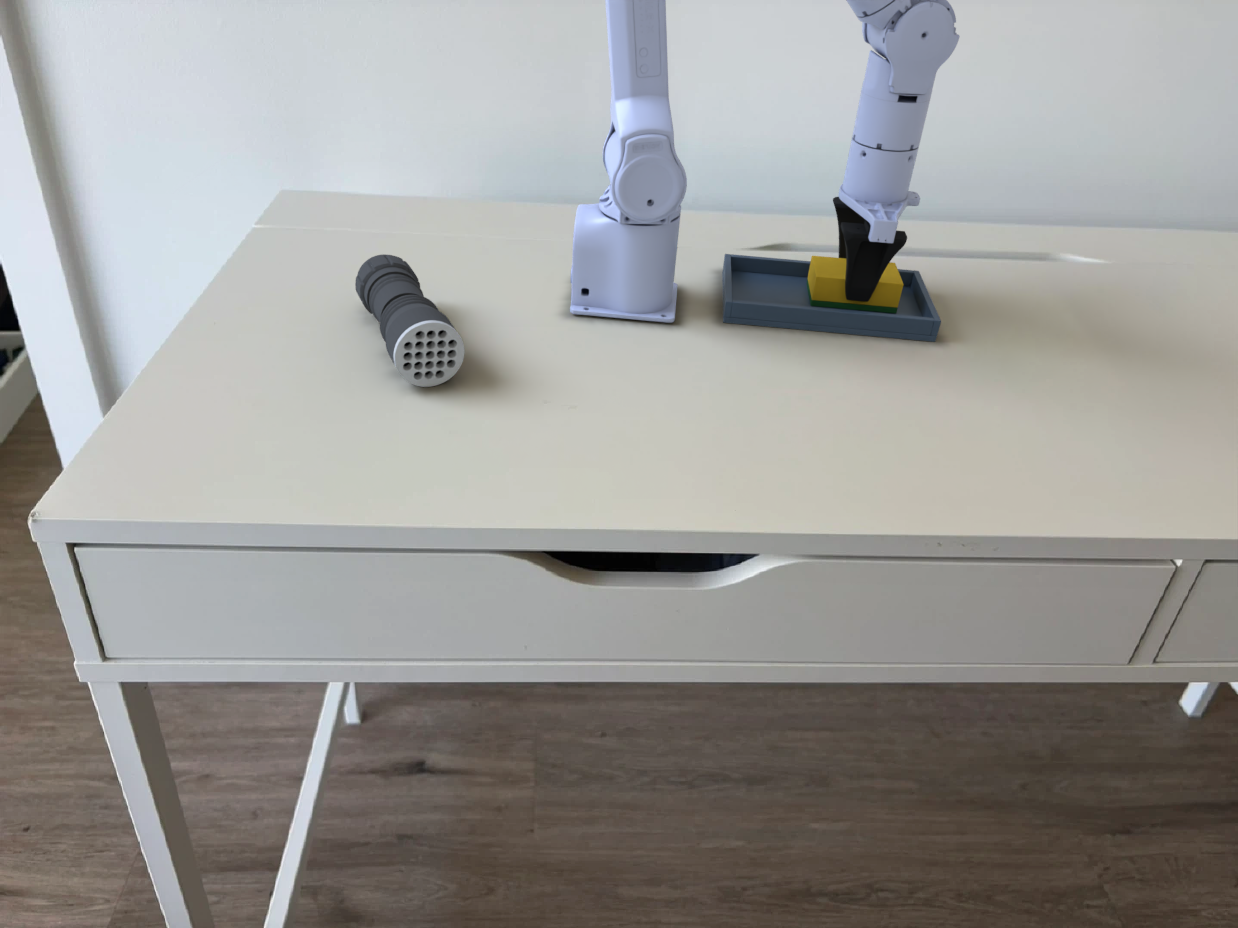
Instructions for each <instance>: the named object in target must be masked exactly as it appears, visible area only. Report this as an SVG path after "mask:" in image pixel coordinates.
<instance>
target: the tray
mask: <svg viewBox="0 0 1238 928" xmlns="http://www.w3.org/2000/svg"><path fill="white" fill-rule="evenodd" d="M810 262H811V260H801V259H800V260H799V259H791V258H790V259H788V258H776V257H767V256H757V255H756V256H754V255H743V254H734V253H733V254H731V253H725V254H724V258H723V264H722V265H723V266H722V274H721V277H722V323H724V324H735V325H745V326H757V327H766V328H767V327H768V328H777V329H788V330H789V329H790V330H799V331H811V332H822V333H833V334H843V335H844V334H845V335H854V336H856V335H857V336H867V337H877V338H887V339H888V338H889V339H899V340H908V341H909V340H910V341H920V342H934V343H936V341H937V338H938V335H939V330H940V328H941V324H942V320H941V318H940V315H939V313H938V310H937V307H936V305H935V304H934V301H933V299H932V297H931V295H930V292H929V290H928V288H927V286H926V283H925V281H924V279H923V277H922V275H921V272H920V271H919V270H914V269H901V268H897V269H898V271H899V274H900V276H901V279H902V282H903V284H904V285H903V289H902V293H901V297H900V301H899V305H898V307H897V308H898V309H897V313H885V312H874V311H863V310H851V309H840V308H829V307H818V306H811V305H810V299H809V294H808V289H807V279H808V273H809V268H810Z"/></svg>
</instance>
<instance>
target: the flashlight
mask: <svg viewBox="0 0 1238 928" xmlns="http://www.w3.org/2000/svg"><path fill="white" fill-rule="evenodd" d="M355 292H356V294H357V295H358V298H359V299H360V301H361V303H362V305H363V306H364V308H365V310H367V312H368V313H369V314H370V315H373V317H374V318H375V319H376V320H377V322H378V323H379V331H380V335H381V337H382V339H383V341H384V343H385V348H386V352H387V354H388V355H389V358H390V359H391V361H392V363H393V365H394V367H395V368H396V370H397V372H398V374H399V375H400V377H401V378H402V379H403V380H404V381H406V382H408V383H409V384H411V385H414V386H416V387H422V388H423V387H424V388H428V387H434V386H439V385H441V384H443V383H445V382H448V381H449V380H450V379H451V378H452V377H454V376H455V375H456V374H457V372H458V371H459V370H460V368H461V366H462V364H463V363H464V359H465V344H464V341H463V338H462V337H461V335H460V333H459V332H458V331H457V329H456V328H455V326H454V325H453V323H452V322H451V321H450V319H449V318H448V317H447V316H446V314H444V313H443V312H442V311H440V310H439V308H438V306H437V305H436V304H435V303H434V301H432V300H430V299H429V298H427V297H425V296H424V292H423V290H422V289H421V282H420V281H419V278H418V276H417V275H416V273H415V272H414V270H413V268H412V267H411V266H410V264H408V262H407V261H406V260H403V258H401V257H400V256H396V255H392V254H383V253H382V254H378V255H377V254H376V255H374V256H371V257H369V258H367V260H365V261H364V262H363V264H361V266H360V267H359V269H358V271H357V275H356V276H355Z"/></svg>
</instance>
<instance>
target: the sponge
mask: <svg viewBox="0 0 1238 928" xmlns="http://www.w3.org/2000/svg"><path fill="white" fill-rule="evenodd" d="M810 261H811V262H810V268H809V273H808V279H807V289H808V294H809V299H810V305H811V306H818V307H829V308H840V309H851V310H863V311H874V312H885V313H897V309H898V308H897V307H898V305H899V301H900V297H901V293H902V289H903V285H904V284H903V282H902V279H901V276H900V274H899V271H898V269H899V268H898V266H897V264H896V262H891V261H890V262H889V264H888V265H887V267H886V269H885V270H884V272H883V274H882V276H881V278H880V280H879V282H878V284H877V286H876V288H875V290H874V292H873V294H872V296H871V298H870V299H869V301H868V302H864V301H853V300H847V299H846V294H845V276H846V258H839V257H834V256H833V257H832V256H820V255H811V258H810Z"/></svg>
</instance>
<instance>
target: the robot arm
mask: <svg viewBox="0 0 1238 928" xmlns="http://www.w3.org/2000/svg"><path fill="white" fill-rule="evenodd" d="M845 1H846V3H847V4H848V6H849V7H850V8H851V10H852V11H853V13H854V15H855V16H856V18H857V19H858V21H859V22H861V32H862V33H861V34H862V37H863V41H864V42H865V43H867V44H868V45H869V46H871V48H872V49H873V50H872V49H870V50H869V52H868V58H867V63H866V68H865V73H864V78H863V81H862V85H861V90H860V95H859V100H858V106H857V111H856V116H855V121H854V125H853V131H852V135H851V141H850V146H849V151H848V155H847V161H846V165H845V171H844V175H843V181H842V183H841V185H840V186H839V190H838V195H837V196H835V197H833V198H832V202H833V206H834V209H835V213H836V214H835V215H836V220H837V227H838V228H837V229H838V258H846V276H845V294H846V299H847V300H853V301H864V302H868V301H869V299H870V298H871V296H872V294H873V292H874V290H875V288H876V286H877V284H878V282H879V280H880V278H881V276H882V274H883V272H884V270H885V269H886V267H887V265H888V264H889V262H891V261H892V260H893V259H894V257H895V256H896V255H897V253H898V252H899V251H901V249H903V247H905V245H906V243H907V241H908V235H907V233H906V231H905V230H898V225H899V219H900V218H901V216H902V214H903V213H904V211H905V210H906V208H907V207H918V206H920V203H921V202H920V201H921V197H920V195H919V193H918V192H917V191H912V190H909V189H910V185H911V180H912V177H913V174H914V169H915V164H916V161H917V160H916V159H917V156H918V153H919V147H920V144H921V139H922V135H923V131H924V127H925V124H926V120H927V119H926V118H927V114H928V111H929V107H930V102H931V99H932V94H933V88H934V84H935V80H936V76H937V73H938V70H939V69H940V68H941V66H943V65H944V63H946V61H948V60H949V58H950V57H951V56H952V55H953V53H954V51H955V50H956V48H957V46H958V43H959V40H960V34H957V32H956V31H957V27H956V26H955V23H957V18H956V17H957V16H956V13H955V9H954V8H953V7H952V5H951V4H950V2H949V1H948V0H845ZM604 2H605V3H604V5H605V17H606V34H607V48H608V63H609V74H610V75H609V77H610V78H609V79H610V92H611V93H610V105H609V114H610V125H609V131H608V133H607V136H606V138H605V140H604V143H603V147H602V163H603V166H604V168H605V171H606V173H607V174H608V179H609V183H610V184H609V185H608V186H606V189H605V190H604V192H603V195H601V196H600V197H599V202H597V203H581V204H578V205H577V208H576V212H575V217H574V224H573V225H574V226H573V236H572V237H573V239H572V257H571V258H572V259H571V260H572V261H571V269H570V284H571V289H570V290H571V295H570V307H569V312H570V314H573V315H582V316H591V317H601V318H602V317H604V318H615V319H624V320H634V321H635V320H636V321H647V322H657V323H670V324H671V323H674V322H675V320H676V309H677V297H678V287H679V285H678V284H677V283H676V282H675V274H676V264H677V254H678V246H679V245H678V244H679V236H680V235H679V233H680V223H681V212H682V205H681V204H682V203H683V200H684V198H685V196H686V192H687V187H688V181H687V180H688V179H687V172H686V171H685V167H684V165H683V164H682V162H681V160H680V159H679V156H678V155H677V152H676V147H675V130H674V124H673V117H672V111H671V105H670V94H669V93H670V91H669V66H668V65H669V63H668V31H667V3H666V2H667V0H604Z"/></svg>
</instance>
